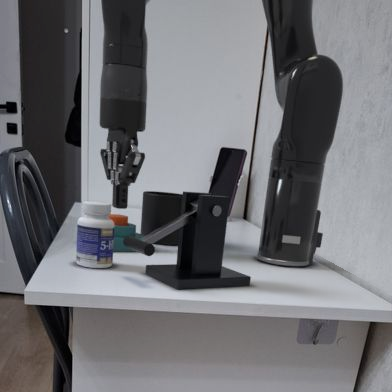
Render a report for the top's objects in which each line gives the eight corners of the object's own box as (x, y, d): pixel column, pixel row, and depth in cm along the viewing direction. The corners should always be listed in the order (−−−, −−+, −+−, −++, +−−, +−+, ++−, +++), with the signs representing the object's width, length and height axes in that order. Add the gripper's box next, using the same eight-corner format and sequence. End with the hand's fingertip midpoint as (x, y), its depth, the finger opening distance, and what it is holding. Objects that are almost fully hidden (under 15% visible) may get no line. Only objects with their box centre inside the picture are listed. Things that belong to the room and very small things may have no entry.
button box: (131, 242, 102) (132, 221, 101) (151, 251, 96) (153, 228, 94) (80, 242, 97) (81, 219, 95) (98, 251, 90) (99, 227, 89)
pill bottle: (105, 270, 77) (108, 206, 74) (70, 265, 78) (71, 201, 75) (117, 264, 82) (120, 203, 79) (84, 259, 83) (86, 199, 80)
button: (122, 224, 97) (122, 214, 97) (131, 227, 95) (131, 217, 94) (103, 224, 95) (103, 213, 95) (112, 227, 93) (112, 216, 92)
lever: (147, 261, 69) (141, 244, 67) (126, 252, 73) (120, 236, 72) (227, 214, 73) (222, 197, 72) (203, 208, 78) (198, 192, 76)
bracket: (177, 289, 71) (186, 196, 67) (145, 273, 78) (151, 188, 74) (249, 285, 77) (261, 200, 73) (213, 271, 84) (222, 192, 80)
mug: (165, 235, 116) (168, 191, 113) (196, 245, 107) (201, 197, 104) (125, 234, 111) (128, 188, 108) (155, 245, 101) (158, 195, 98)
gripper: (163, 100, 85) (157, 213, 91) (126, 102, 95) (122, 204, 101) (119, 94, 81) (115, 212, 87) (86, 97, 91) (84, 203, 97)
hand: (119, 207), depth 94 cm, fingers closed
